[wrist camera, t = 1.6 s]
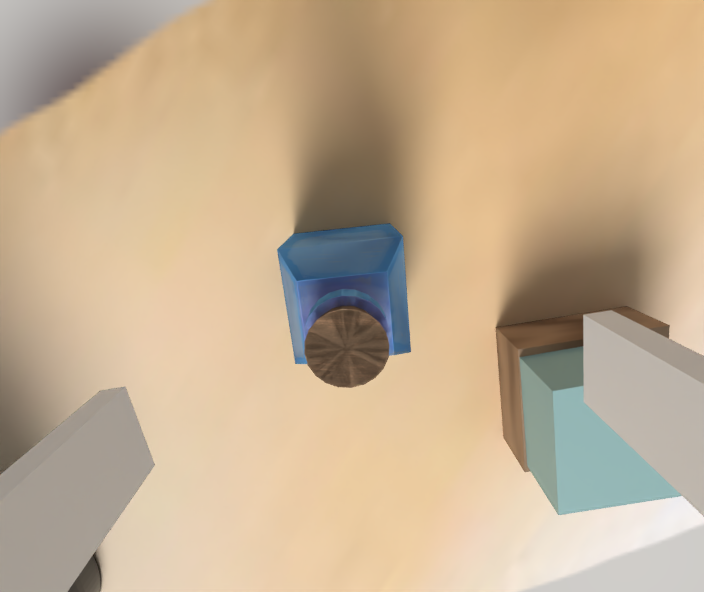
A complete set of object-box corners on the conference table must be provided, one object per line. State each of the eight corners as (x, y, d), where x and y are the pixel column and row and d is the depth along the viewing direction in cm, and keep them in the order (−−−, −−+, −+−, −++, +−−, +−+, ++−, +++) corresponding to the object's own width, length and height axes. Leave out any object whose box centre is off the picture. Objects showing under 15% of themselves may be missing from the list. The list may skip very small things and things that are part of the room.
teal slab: (527, 465, 26) (558, 515, 22) (519, 357, 24) (552, 391, 20) (649, 446, 26) (702, 492, 22) (653, 334, 23) (713, 363, 20)
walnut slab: (502, 434, 30) (524, 472, 26) (494, 326, 27) (518, 349, 24) (621, 416, 30) (661, 452, 26) (623, 305, 27) (669, 325, 23)
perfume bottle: (389, 223, 25) (426, 258, 14) (396, 314, 27) (434, 414, 15) (293, 233, 25) (248, 277, 14) (306, 323, 27) (276, 429, 15)
